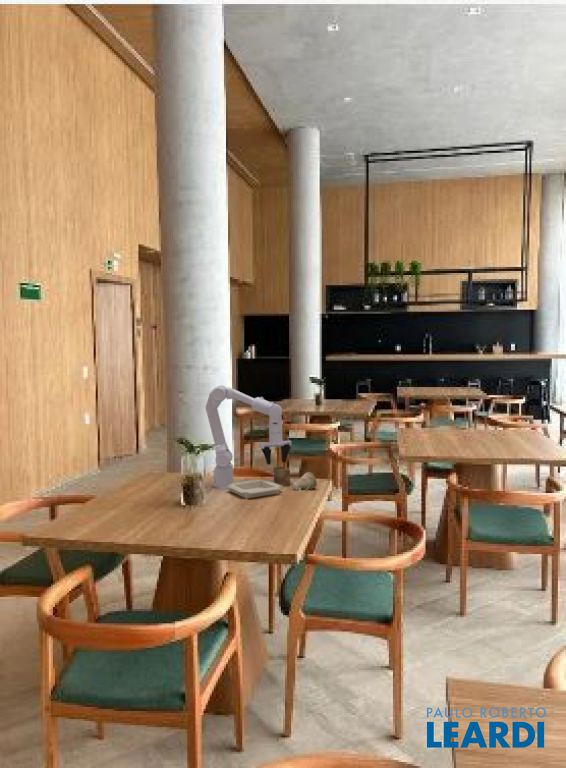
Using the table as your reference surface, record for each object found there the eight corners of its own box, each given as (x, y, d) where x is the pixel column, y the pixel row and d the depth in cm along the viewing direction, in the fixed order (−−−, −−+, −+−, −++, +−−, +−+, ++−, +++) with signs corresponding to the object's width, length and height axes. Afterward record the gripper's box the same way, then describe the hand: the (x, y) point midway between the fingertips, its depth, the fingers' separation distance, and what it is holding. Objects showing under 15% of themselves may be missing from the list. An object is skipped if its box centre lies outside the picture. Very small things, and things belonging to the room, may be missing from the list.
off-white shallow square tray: (223, 491, 256) (223, 484, 256) (263, 485, 265) (263, 478, 265) (244, 501, 237) (244, 494, 237) (286, 494, 247) (286, 487, 246)
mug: (288, 490, 256) (296, 468, 259) (308, 498, 258) (315, 476, 261) (294, 489, 249) (302, 466, 252) (315, 497, 251) (322, 475, 254)
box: (281, 487, 259) (281, 470, 258) (274, 483, 266) (273, 467, 265) (290, 485, 260) (290, 469, 260) (282, 482, 268) (282, 466, 267)
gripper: (265, 434, 255) (266, 466, 256) (294, 431, 262) (295, 462, 263) (257, 432, 261) (258, 464, 262) (286, 429, 268) (287, 460, 269)
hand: (276, 463), depth 263 cm, fingers open, 7 cm apart
